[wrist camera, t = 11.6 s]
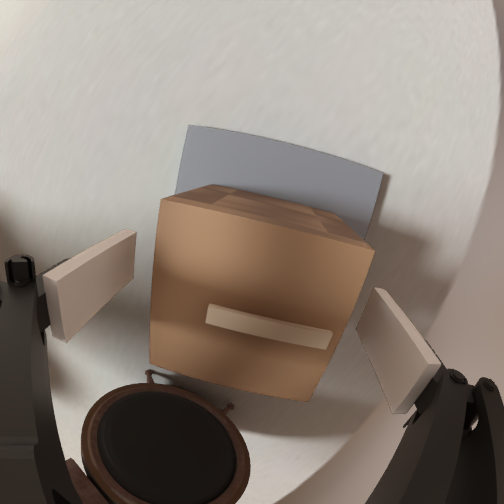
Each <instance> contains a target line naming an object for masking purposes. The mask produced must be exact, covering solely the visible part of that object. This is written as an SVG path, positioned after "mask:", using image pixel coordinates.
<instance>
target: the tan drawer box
mask: <svg viewBox="0 0 504 504" xmlns="http://www.w3.org/2000/svg"><path fill="white" fill-rule="evenodd" d="M374 253H375V250H374V249H373V248H372V247H371V246H370V245H368V244H367V243H366V242H365V241H364V240H363V239H362V238H361V237H360V236H359V235H358V234H357V233H356V232H355V231H354V230H352V229H351V228H350V227H349V226H348V225H347V224H346V223H345V222H344V221H343V220H341V219H340V218H339V217H338V216H337V215H336V214H335V213H331V212H328V211H324V210H320V209H317V208H313V207H309V206H305V205H301V204H297V203H294V202H290V201H286V200H282V199H277V198H273V197H269V196H265V195H261V194H256V193H252V192H248V191H243V190H239V189H234V188H229V187H225V186H220V185H215V184H210V185H207V186H203V187H200V188H196V189H193V190H189V191H186V192H183V193H179V194H176V195H173V196H169V197H166V198H163V199H161V202H160V209H159V216H158V224H157V233H156V242H155V252H154V263H153V275H152V290H151V310H150V364H153V365H155V366H158V367H161V368H164V369H167V370H170V371H173V372H176V373H180V374H183V375H186V376H189V377H193V378H196V379H200V380H203V381H207V382H211V383H214V384H218V385H222V386H226V387H230V388H235V389H239V390H243V391H248V392H253V393H258V394H263V395H268V396H273V397H279V398H285V399H291V400H298V401H305V402H308V401H309V399H310V398H311V396H312V394H313V392H314V390H315V388H316V387H317V385H318V383H319V381H320V379H321V377H322V375H323V373H324V371H325V369H326V367H327V365H328V363H329V361H330V359H331V357H332V355H333V353H334V351H335V349H336V347H337V345H338V343H339V340H340V338H341V336H342V334H343V332H344V329H345V327H346V325H347V323H348V320H349V318H350V316H351V313H352V311H353V309H354V306H355V304H356V301H357V299H358V296H359V294H360V291H361V289H362V286H363V284H364V281H365V278H366V276H367V273H368V270H369V267H370V265H371V262H372V259H373V256H374Z"/></svg>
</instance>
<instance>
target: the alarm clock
mask: <svg viewBox="0 0 504 504" xmlns="http://www.w3.org/2000/svg"><path fill="white" fill-rule="evenodd" d="M145 374H146V375H147V383H138V384H131V385H126V386H123V387H120V388H117V389H114V390H112V391H110V392H108V393H107V394H105V395H104V396H102V397H101V398H100V399H99V400H98V401H97V402H96V403H95V404H94V405H93V406H92V408H91V409H90V410H89V412H88V414H87V416H86V418H85V421H84V424H83V427H82V434H81V456H82V462H83V465H84V469H85V472H86V474H87V476H86V475H85V473H84V472H83V471H82V470H81V468H80V467H79V466H78V465H77V464H76V462H75V461H74V460H73V459H72V458H70V459H68V460H66V465H67V468H68V471H69V474H70V477H71V480H72V483H73V485H74V487H75V489H76V491H77V493H78V495H79V496H80V498H81V500H82V502H83V504H235V503H236V502H237V501H238V500H239V499H240V497H241V496H242V494H243V493H244V491H245V489H246V487H247V484H248V481H249V477H250V467H251V466H250V457H249V452H248V449H247V446H246V443H245V441H244V439H243V437H242V435H241V434H240V432H239V430H238V429H237V428H236V426H235V425H234V424H233V422H232V421H231V420H230V419H229V418H228V417H227V416H226V414H227V413H228V412H229V411H230V410H233V409H234V405H233V404H228V405H227V407H226V408H224V409H222V410H219V409H218V408H217V407H215V406H214V405H213V404H211V403H210V402H208V401H207V400H205V399H203V398H202V397H200V396H198V395H196V394H193V393H191V392H189V391H186V390H183V389H181V388H177V387H174V386H169V385H164V384H156V383H154V381H153V379H152V376H151V375H152V372H151V371H150V370H146V371H145Z"/></svg>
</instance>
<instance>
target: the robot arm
mask: <svg viewBox="0 0 504 504" xmlns="http://www.w3.org/2000/svg"><path fill="white" fill-rule="evenodd" d="M136 233H137V232H134V231H130V230H126V229H124V230H122V231H120V232H118V233H116V234H114V235H112V236H111V237H109V238H107V239H105V240H103V241H101V242H99V243H97V244H96V245H94V246H92V247H90V248H88V249H86V250H85V251H83V252H81V253H79V254H78V255H76V256H74V257H72V258H69V259H65V260H63V261H61V262H59V263H58V264H57V265H54V266H53V267H51V268H49V269H47V270H46V271H44V272H42V273H41V274H39V275H38V276H36V275H35V265H34V258H32V257H31V256H28V255H16V256H13V257H10V258H8V259H7V260H6V261H5V269H6V276H7V282H8V283H6V282H2V281H0V504H83V502H82V500H81V498H80V496H79V495H78V493H77V491H76V489H75V487H74V485H73V483H72V480H71V477H70V474H69V471H68V468H67V465H66V461H65V458H64V454H63V451H62V447H61V443H60V439H59V434H58V430H57V425H56V420H55V415H54V409H53V403H52V397H51V389H50V381H49V371H48V359H47V339H46V333H45V329H46V328H47V327H48V326H49V325H50V326H51V331H52V335H53V337H54V338H56V339H58V340H60V341H62V342H64V343H67V342H68V341H69V340H70V339H71V338H72V337H73V336H74V335H75V334H76V333H77V332H78V331H79V330H80V329H81V328H82V327H83V326H84V325H85V324H86V323H87V322H88V321H89V320H90V319H91V318H92V317H93V316H94V315H95V314H96V313H97V312H98V311H99V310H100V309H101V308H102V307H103V306H104V305H105V304H106V303H107V302H109V301H110V300H111V299H112V298H113V297H114V296H115V295H116V294H117V293H118V292H119V291H120V290H121V289H122V288H123V287H124V286H125V285H127V284H128V283H129V282H130V281H131V280H132V279H133V277H134V258H135V244H136ZM356 330H357V332H358V334H359V337H360V339H361V341H362V343H363V345H364V348H365V350H366V352H367V354H368V357H369V359H370V361H371V363H372V366H373V368H374V370H375V373H376V375H377V377H378V380H379V382H380V385H381V387H382V389H383V392H384V394H385V397H386V399H387V402H388V404H389V407H390V409H391V412H392V414H405V413H407V412H408V411H409V409H410V408H411V407H412V406H413V404H415V406H416V408H417V410H416V411H415V413H414V414H413V415H412V416H411V417H410V419H409V420H408V421H407V422H406V423H405V424H404V426H403V427H404V428H405V427H406V426H407V425H408V427H407V429H406V431H405V433H404V436H403V437H402V440H401V442H400V444H399V446H398V448H397V450H396V452H395V454H394V456H393V458H392V460H391V461H390V463H389V465H388V467H387V469H386V470H385V472H384V474H383V476H382V477H381V479H380V481H379V482H378V484H377V486H376V487H375V489H374V491H373V492H372V494H371V495H370V497H369V498H368V500H367V501H366V503H365V504H504V405H503V402H502V399H501V396H500V393H499V390H498V388H497V386H496V385H495V383H494V382H493V381H492V380H491V379H488V378H485V377H482V378H480V379H479V381H478V382H477V384H476V385H475V386H473V385H469V384H468V381H467V379H466V378H465V376H464V375H463V374H462V373H460V372H459V371H457V370H454V369H446V368H445V366H444V365H443V363H442V362H441V360H440V359H439V357H438V356H437V355H436V354H435V352H434V350H433V349H431V346H430V345H429V344H428V342H427V341H426V340H425V339H424V338H423V337H422V336H421V335H420V333H419V332H418V331H417V329H416V328H415V327H414V325H413V324H412V323H411V321H410V320H409V319H408V318H407V316H406V315H405V314H404V312H403V311H402V310H401V309H400V307H399V306H398V305H397V304H396V302H395V301H394V300H393V299H392V297H391V296H390V295H389V294H388V293H387V291H386V290H385V289H380V288H376V287H374V288H373V290H372V293H371V295H370V298H369V300H368V302H367V305H366V307H365V309H364V312H363V314H362V316H361V319H360V321H359V323H358V325H357V327H356ZM477 420H478V424H477V426H476V428H475V429H474V430H472V427H471V426H472V425H473V424H474V423H475V422H476V421H477Z"/></svg>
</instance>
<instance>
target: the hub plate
mask: <svg viewBox="0 0 504 504" xmlns="http://www.w3.org/2000/svg"><path fill="white" fill-rule="evenodd" d="M382 176H383V172H380V171H378V170H375V169H372V168H369V167H366V166H363V165H360V164H357V163H354V162H351V161H348V160H345V159H342V158H339V157H336V156H332V155H329V154H325V153H322V152H319V151H315V150H311V149H308V148H304V147H300V146H296V145H292V144H288V143H284V142H280V141H276V140H272V139H267V138H263V137H258V136H253V135H248V134H243V133H238V132H233V131H227V130H221V129H215V128H209V127H202V126H195V125H188V130H187V134H186V139H185V143H184V148H183V153H182V158H181V163H180V168H179V174H178V179H177V185H176V191H175V195H176V194H179V193H183V192H186V191H189V190H193V189H196V188H200V187H203V186H207V185H210V184H215V185H220V186H225V187H229V188H234V189H239V190H243V191H248V192H252V193H256V194H261V195H265V196H269V197H273V198H277V199H282V200H286V201H290V202H294V203H297V204H301V205H305V206H309V207H313V208H317V209H320V210H324V211H328V212H331V213H335V214H336V215H337V216H338V217H339V218H340V219H341V220H343V221H344V222H345V223H346V224H347V225H348V226H349V227H350V228H351V229H352V230H354V231H355V232H356V233H357V234H358V235H359V236H360V237H361V238H362V239H363V240H364V239H365V236H366V233H367V230H368V227H369V223H370V220H371V217H372V213H373V210H374V206H375V203H376V199H377V196H378V192H379V188H380V184H381V180H382Z"/></svg>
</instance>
